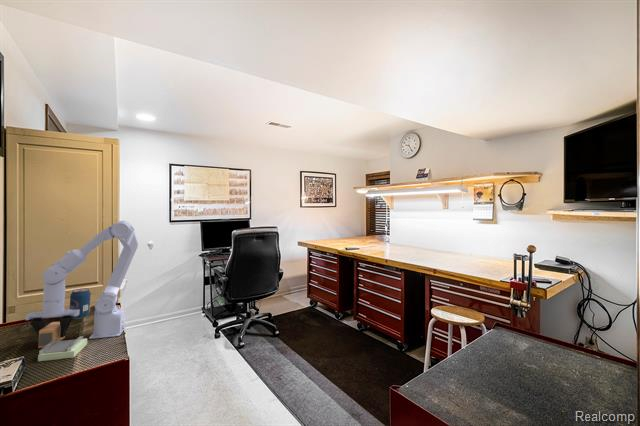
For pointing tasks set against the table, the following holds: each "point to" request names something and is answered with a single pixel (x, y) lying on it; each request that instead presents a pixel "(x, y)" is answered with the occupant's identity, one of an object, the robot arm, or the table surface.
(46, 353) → the green rimmed tray
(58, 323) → the tan tapered column
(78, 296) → the soda can
